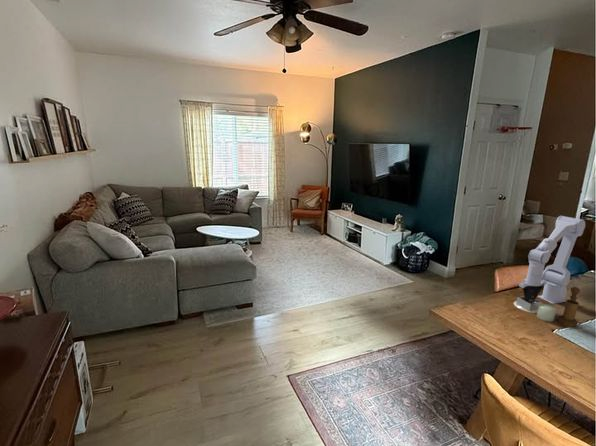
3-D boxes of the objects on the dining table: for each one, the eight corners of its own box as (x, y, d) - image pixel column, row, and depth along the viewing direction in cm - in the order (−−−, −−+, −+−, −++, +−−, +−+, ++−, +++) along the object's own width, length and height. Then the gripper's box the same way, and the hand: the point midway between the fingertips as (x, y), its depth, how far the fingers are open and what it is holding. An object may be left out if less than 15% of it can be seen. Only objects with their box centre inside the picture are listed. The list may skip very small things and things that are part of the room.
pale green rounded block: (543, 314, 148) (546, 302, 146) (557, 321, 142) (560, 309, 140) (533, 315, 146) (535, 304, 145) (546, 323, 140) (549, 311, 139)
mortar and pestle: (580, 328, 136) (589, 291, 131) (563, 327, 137) (572, 290, 133) (570, 320, 142) (579, 284, 138) (554, 319, 143) (562, 283, 139)
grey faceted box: (522, 300, 160) (523, 293, 159) (540, 309, 151) (541, 302, 150) (511, 301, 158) (513, 295, 157) (529, 311, 150) (530, 304, 149)
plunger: (527, 302, 157) (529, 291, 155) (537, 307, 152) (539, 296, 150) (519, 303, 155) (521, 292, 154) (529, 308, 151) (531, 297, 149)
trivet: (525, 299, 161) (525, 299, 161) (549, 311, 150) (549, 311, 150) (507, 302, 158) (507, 302, 158) (530, 315, 147) (530, 314, 147)
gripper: (538, 269, 155) (533, 293, 158) (515, 271, 151) (510, 297, 155) (552, 274, 148) (547, 300, 152) (529, 277, 145) (524, 303, 148)
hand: (529, 299), depth 153 cm, fingers closed on plunger, 3 cm apart
